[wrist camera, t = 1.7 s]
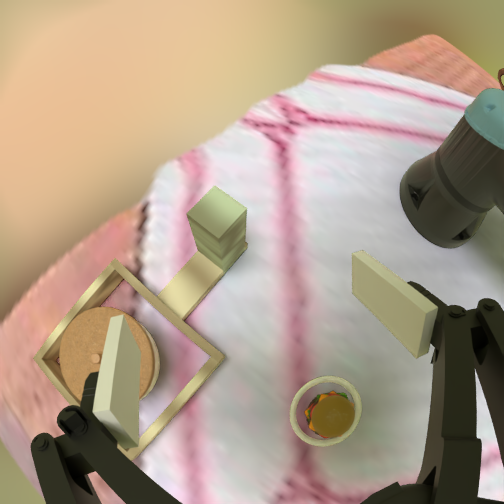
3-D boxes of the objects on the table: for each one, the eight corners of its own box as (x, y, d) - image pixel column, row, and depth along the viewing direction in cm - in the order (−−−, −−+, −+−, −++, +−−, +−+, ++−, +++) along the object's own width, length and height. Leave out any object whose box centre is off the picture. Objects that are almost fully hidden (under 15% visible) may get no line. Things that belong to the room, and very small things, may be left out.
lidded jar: (184, 344, 35) (167, 335, 27) (148, 420, 32) (120, 435, 23) (111, 304, 37) (78, 284, 28) (77, 375, 33) (36, 374, 24)
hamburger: (358, 351, 36) (376, 348, 31) (377, 437, 32) (396, 445, 27) (265, 377, 35) (269, 379, 30) (286, 467, 31) (294, 481, 26)
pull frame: (186, 201, 42) (172, 151, 32) (288, 279, 39) (306, 245, 28) (47, 360, 33) (-5, 351, 23) (138, 455, 30) (103, 483, 19)
